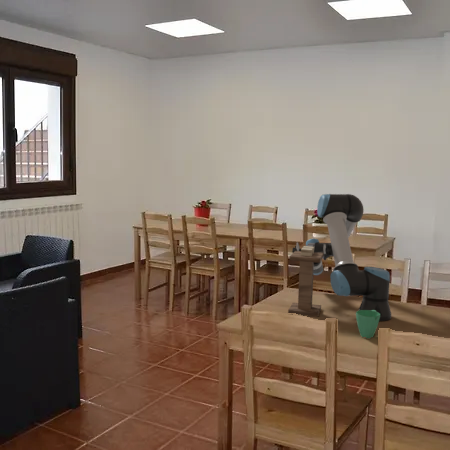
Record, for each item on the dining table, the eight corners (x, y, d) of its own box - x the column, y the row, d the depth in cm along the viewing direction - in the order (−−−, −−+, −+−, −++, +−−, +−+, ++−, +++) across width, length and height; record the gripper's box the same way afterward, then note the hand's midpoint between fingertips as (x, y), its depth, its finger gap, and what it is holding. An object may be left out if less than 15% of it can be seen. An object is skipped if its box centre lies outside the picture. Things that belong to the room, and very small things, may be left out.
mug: (375, 341, 224) (376, 318, 223) (351, 337, 229) (352, 314, 228) (384, 332, 236) (386, 309, 235) (362, 328, 241) (363, 306, 240)
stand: (317, 317, 256) (320, 258, 253) (287, 314, 260) (289, 256, 257) (321, 308, 272) (323, 252, 268) (293, 306, 275) (295, 250, 272)
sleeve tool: (311, 256, 258) (311, 249, 258) (300, 255, 259) (300, 249, 259) (316, 249, 279) (316, 243, 279) (306, 248, 280) (307, 242, 280)
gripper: (337, 268, 290) (335, 254, 271) (290, 265, 297) (285, 251, 278) (338, 255, 293) (336, 240, 274) (291, 252, 300) (286, 237, 281)
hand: (310, 245), depth 276 cm, fingers open, 13 cm apart
